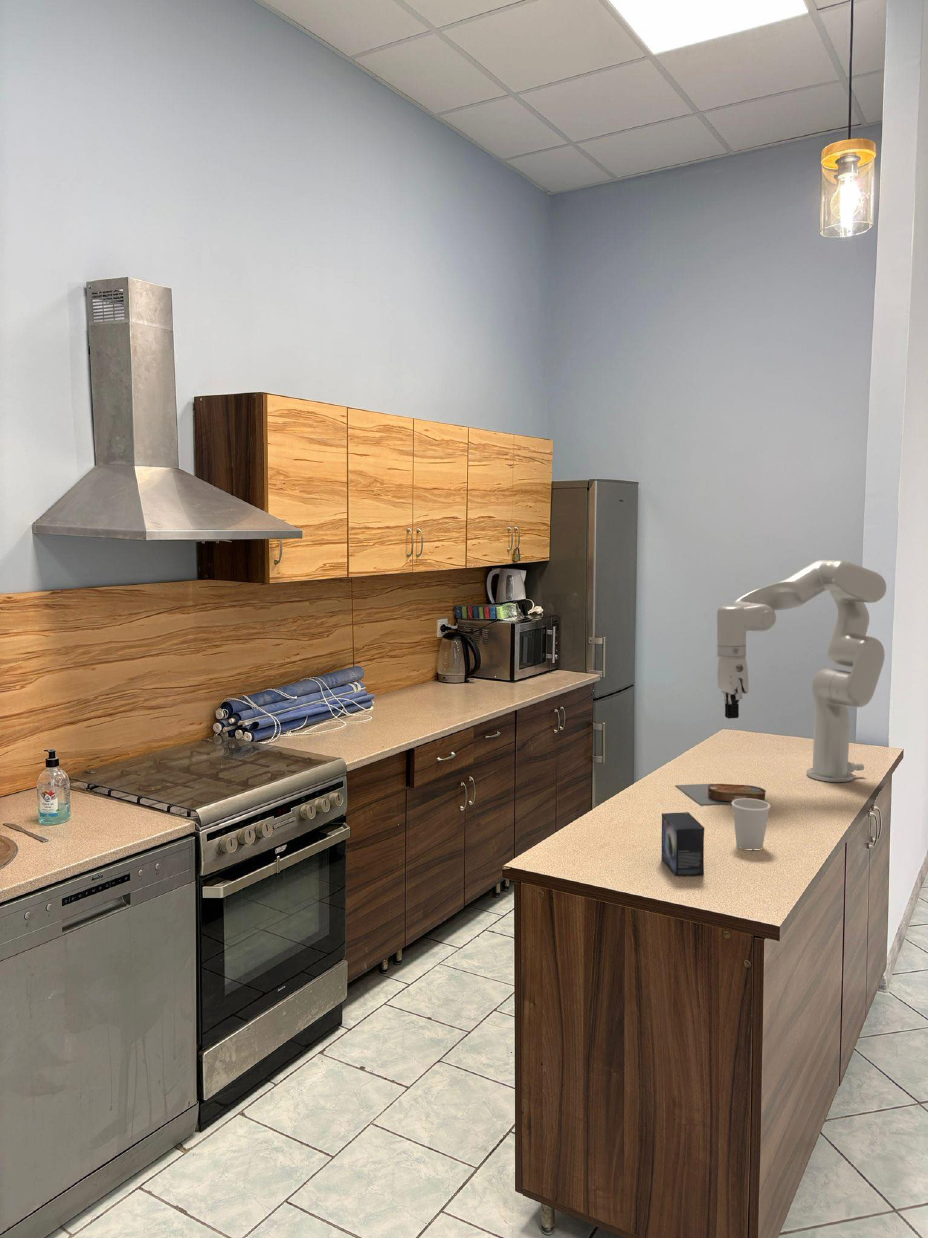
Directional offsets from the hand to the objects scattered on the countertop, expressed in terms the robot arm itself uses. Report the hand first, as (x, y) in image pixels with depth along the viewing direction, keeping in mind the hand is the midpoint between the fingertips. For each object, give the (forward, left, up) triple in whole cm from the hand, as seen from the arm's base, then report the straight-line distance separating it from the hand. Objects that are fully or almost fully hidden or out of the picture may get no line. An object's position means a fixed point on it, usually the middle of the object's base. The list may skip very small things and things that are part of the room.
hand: (731, 717), depth 247 cm
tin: (+1, +3, -19) cm, 20 cm away
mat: (+8, +2, -21) cm, 22 cm away
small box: (+34, +52, -21) cm, 66 cm away
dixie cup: (+14, +42, -21) cm, 49 cm away
